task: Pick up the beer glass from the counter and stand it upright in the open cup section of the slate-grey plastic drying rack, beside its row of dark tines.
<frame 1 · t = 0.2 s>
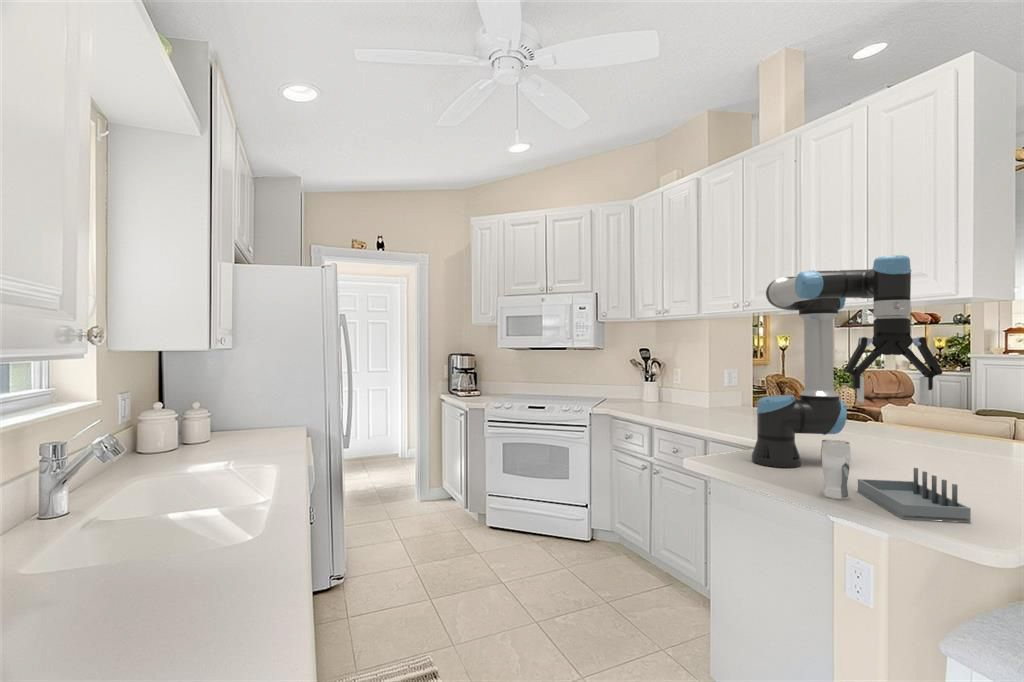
hand: (891, 402, 130), 27 cm above the counter, tool pointing down, fingers open, 13 cm apart
beer glass: (835, 497, 142), on the counter
drying rack: (908, 505, 133), on the counter
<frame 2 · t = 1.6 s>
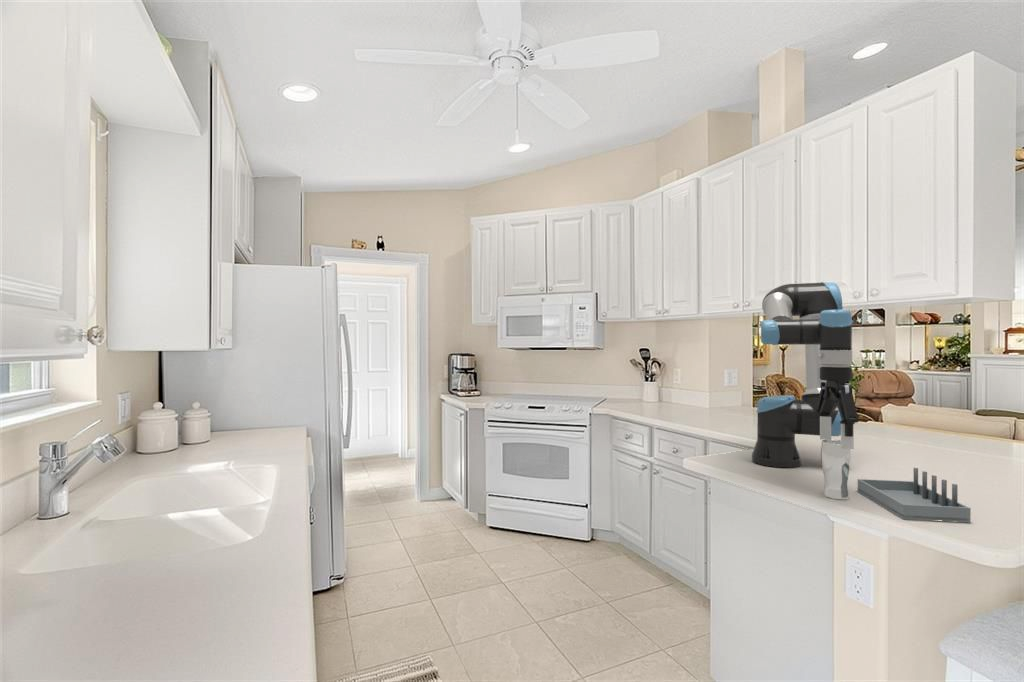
hand: (835, 443, 141), 14 cm above the counter, tool pointing down, fingers open, 13 cm apart
nothing on the counter moved.
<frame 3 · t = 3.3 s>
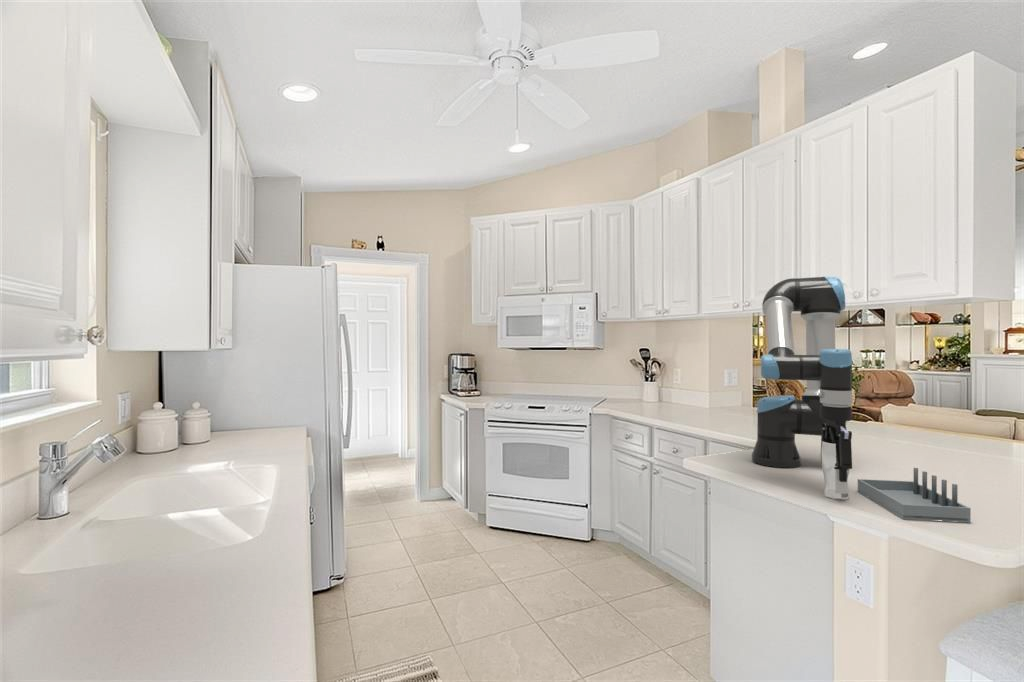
hand: (835, 489, 142), 2 cm above the counter, tool pointing down, fingers closed on beer glass, 6 cm apart
beer glass: (835, 497, 142), on the counter, touching gripper
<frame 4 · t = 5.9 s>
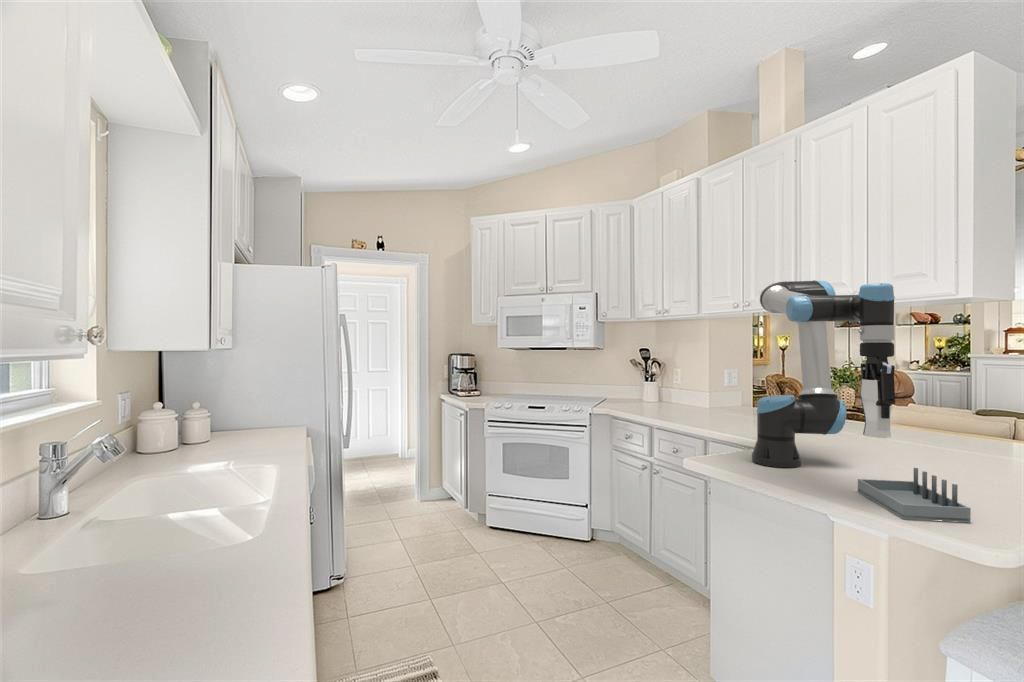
hand: (877, 428, 137), 19 cm above the counter, tool pointing down, fingers closed on beer glass, 6 cm apart
beer glass: (877, 436, 137), point 17 cm above the counter, touching gripper
when the fingers open (4 cm above the counter, at t = 8.8 s): beer glass stays where it is, resting on drying rack.
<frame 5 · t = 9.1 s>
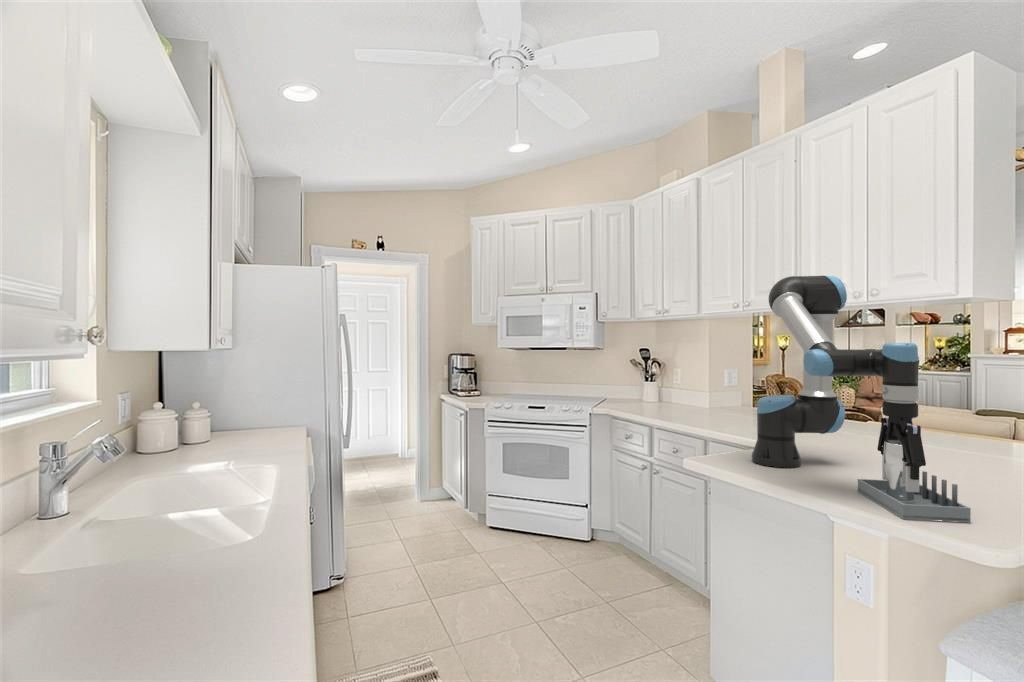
hand: (900, 485, 135), 5 cm above the counter, tool pointing down, fingers open, 10 cm apart
beer glass: (900, 500, 135), point 1 cm above the counter, touching drying rack
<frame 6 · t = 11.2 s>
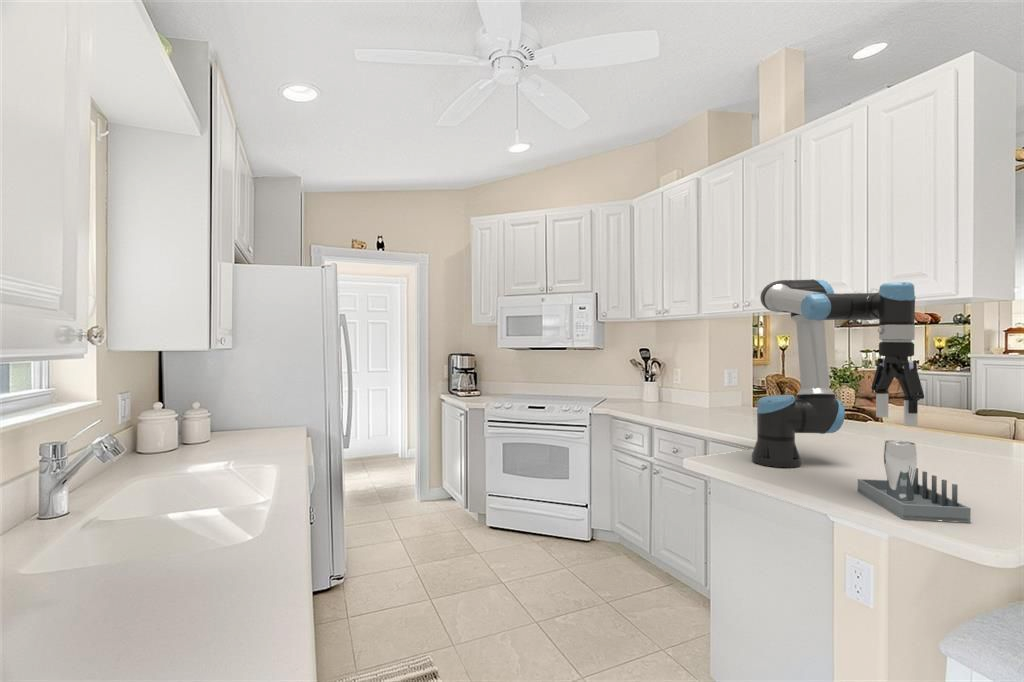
hand: (895, 421, 137), 21 cm above the counter, tool pointing down, fingers open, 13 cm apart
nothing on the counter moved.
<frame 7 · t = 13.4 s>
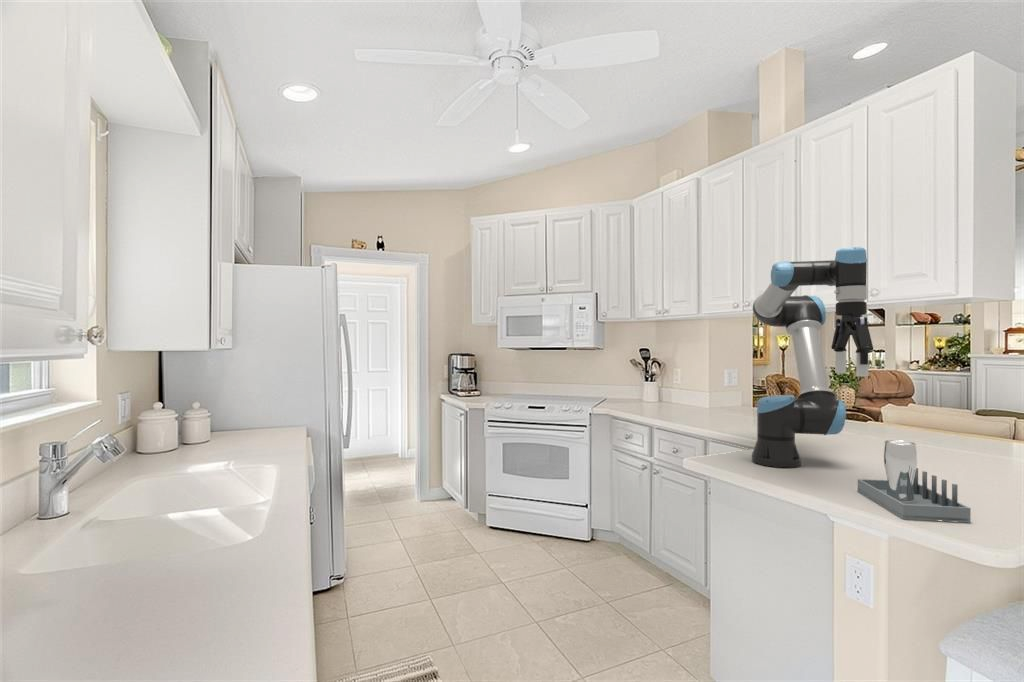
hand: (851, 374, 150), 33 cm above the counter, tool pointing down, fingers open, 13 cm apart
nothing on the counter moved.
at the end: beer glass inside the target area on the drying rack (0.3 cm from its centre), point 0.8 cm above the drying rack's base; beer glass tilted 0°; the gripper is holding nothing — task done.
